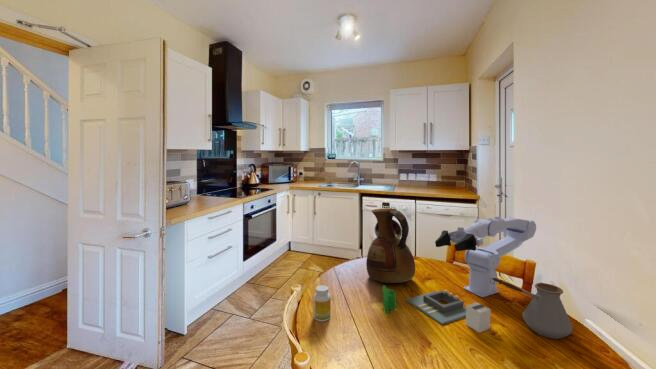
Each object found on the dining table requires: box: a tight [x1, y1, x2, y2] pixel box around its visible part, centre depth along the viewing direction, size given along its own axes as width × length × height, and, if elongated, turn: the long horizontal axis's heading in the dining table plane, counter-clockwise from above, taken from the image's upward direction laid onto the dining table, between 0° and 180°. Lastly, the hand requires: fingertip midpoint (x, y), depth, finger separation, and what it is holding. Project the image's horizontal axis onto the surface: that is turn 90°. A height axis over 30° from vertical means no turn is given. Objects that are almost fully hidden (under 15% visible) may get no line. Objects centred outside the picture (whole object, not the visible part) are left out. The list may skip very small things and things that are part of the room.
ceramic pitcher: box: [365, 207, 416, 284], centre depth 114 cm, size 20×20×30 cm
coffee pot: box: [490, 278, 574, 340], centre depth 80 cm, size 21×12×15 cm, turn 82°
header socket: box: [405, 289, 466, 326], centre depth 93 cm, size 14×16×4 cm
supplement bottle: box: [313, 284, 332, 322], centre depth 87 cm, size 5×5×10 cm
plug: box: [465, 301, 492, 333], centre depth 82 cm, size 4×4×6 cm
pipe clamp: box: [382, 284, 397, 315], centre depth 95 cm, size 11×4×5 cm, turn 173°
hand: (445, 246), depth 93 cm, fingers open, 7 cm apart
